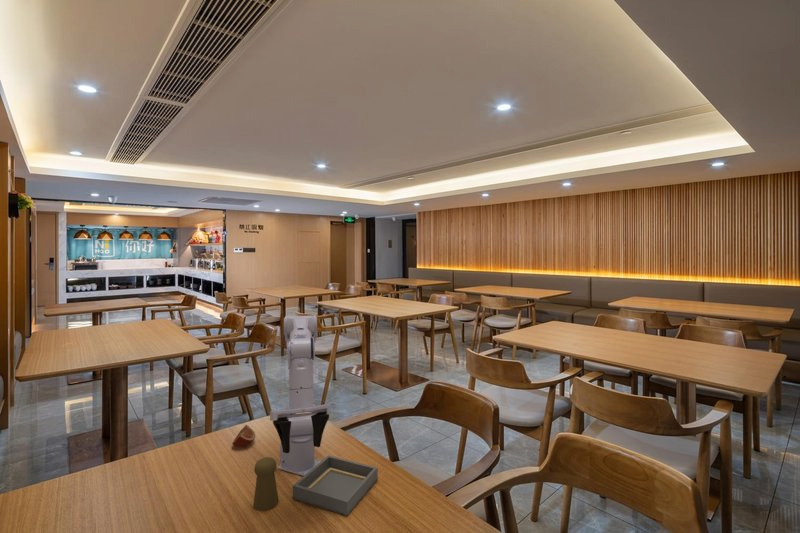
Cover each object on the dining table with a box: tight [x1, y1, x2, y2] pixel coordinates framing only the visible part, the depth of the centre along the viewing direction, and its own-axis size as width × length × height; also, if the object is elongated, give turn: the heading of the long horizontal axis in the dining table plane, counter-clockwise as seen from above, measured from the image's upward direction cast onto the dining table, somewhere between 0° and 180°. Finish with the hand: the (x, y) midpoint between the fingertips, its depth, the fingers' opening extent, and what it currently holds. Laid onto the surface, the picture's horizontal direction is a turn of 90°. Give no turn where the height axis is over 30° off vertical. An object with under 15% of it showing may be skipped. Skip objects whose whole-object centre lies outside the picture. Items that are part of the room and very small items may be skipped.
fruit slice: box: [232, 424, 256, 448], centre depth 129 cm, size 8×7×5 cm
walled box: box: [292, 454, 379, 517], centre depth 106 cm, size 16×16×4 cm
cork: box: [252, 456, 280, 512], centre depth 100 cm, size 6×6×11 cm
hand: (301, 449), depth 93 cm, fingers open, 7 cm apart
